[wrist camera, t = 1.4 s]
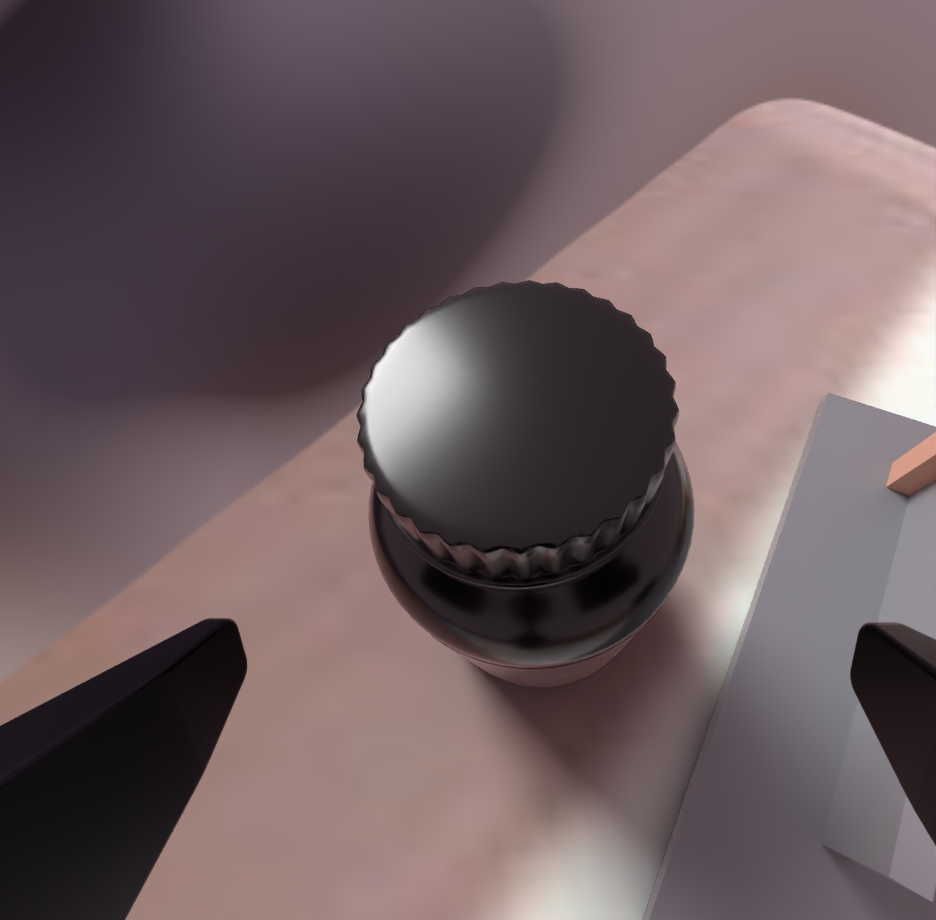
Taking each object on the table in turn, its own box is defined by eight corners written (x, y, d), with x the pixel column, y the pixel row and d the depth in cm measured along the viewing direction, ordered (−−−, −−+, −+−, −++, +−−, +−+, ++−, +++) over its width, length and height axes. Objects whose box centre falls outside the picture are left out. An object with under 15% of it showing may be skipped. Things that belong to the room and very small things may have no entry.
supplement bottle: (644, 508, 19) (771, 242, 8) (626, 711, 16) (783, 716, 5) (463, 480, 20) (367, 225, 10) (418, 661, 18) (214, 587, 7)
